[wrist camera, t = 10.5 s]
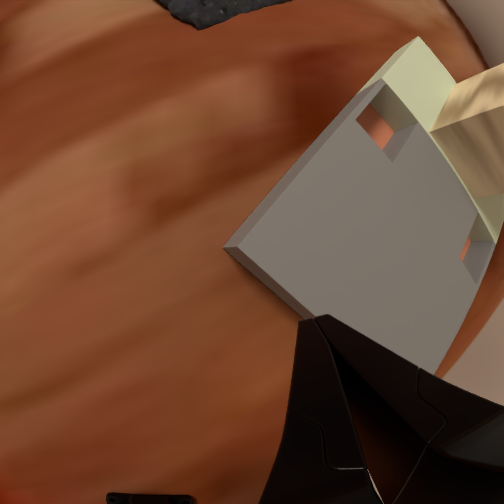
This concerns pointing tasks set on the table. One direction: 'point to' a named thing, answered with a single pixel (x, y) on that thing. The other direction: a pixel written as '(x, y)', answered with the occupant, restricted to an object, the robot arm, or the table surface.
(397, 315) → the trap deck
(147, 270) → the table surface
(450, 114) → the maple block
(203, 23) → the dark slate chunk
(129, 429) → the table surface
